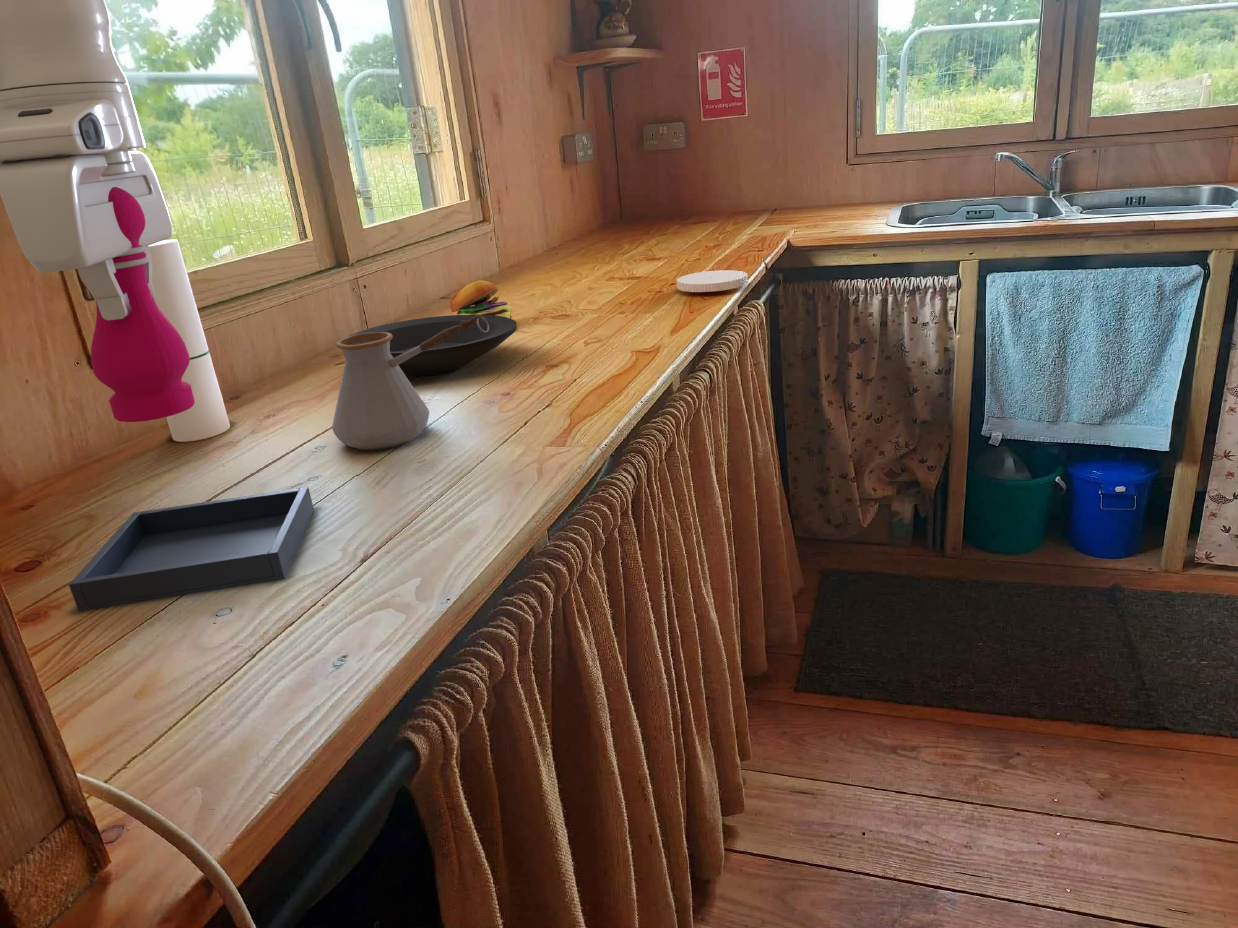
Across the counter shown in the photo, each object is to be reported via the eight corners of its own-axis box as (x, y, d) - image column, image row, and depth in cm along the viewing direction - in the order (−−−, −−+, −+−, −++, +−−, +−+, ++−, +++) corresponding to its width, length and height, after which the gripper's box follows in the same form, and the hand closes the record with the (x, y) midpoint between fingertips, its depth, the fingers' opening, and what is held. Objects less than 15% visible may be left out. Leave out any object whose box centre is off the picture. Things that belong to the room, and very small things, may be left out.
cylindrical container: (221, 422, 121) (169, 238, 112) (238, 432, 116) (184, 240, 106) (167, 437, 117) (108, 248, 108) (181, 448, 112) (121, 250, 102)
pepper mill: (109, 409, 76) (37, 167, 69) (199, 393, 79) (138, 159, 72) (106, 430, 70) (26, 167, 63) (203, 412, 73) (138, 158, 65)
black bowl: (315, 390, 132) (306, 354, 130) (397, 348, 153) (390, 317, 151) (482, 389, 123) (475, 351, 121) (544, 345, 144) (540, 312, 142)
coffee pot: (318, 459, 102) (288, 334, 97) (367, 426, 113) (342, 311, 107) (486, 460, 97) (464, 327, 91) (522, 424, 107) (504, 303, 101)
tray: (80, 616, 72) (68, 584, 71) (142, 539, 86) (133, 512, 84) (286, 583, 74) (277, 552, 73) (315, 513, 87) (308, 486, 86)
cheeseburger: (492, 337, 153) (472, 282, 150) (451, 348, 159) (431, 296, 157) (527, 322, 161) (508, 270, 158) (486, 334, 167) (467, 283, 165)
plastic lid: (669, 298, 170) (668, 285, 169) (687, 284, 182) (686, 272, 181) (740, 296, 165) (739, 282, 164) (753, 281, 178) (753, 269, 177)
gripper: (88, 135, 75) (137, 294, 80) (-41, 136, 56) (33, 344, 62) (164, 127, 76) (207, 285, 81) (61, 125, 57) (126, 332, 62)
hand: (131, 311), depth 71 cm, fingers closed on pepper mill, 4 cm apart
